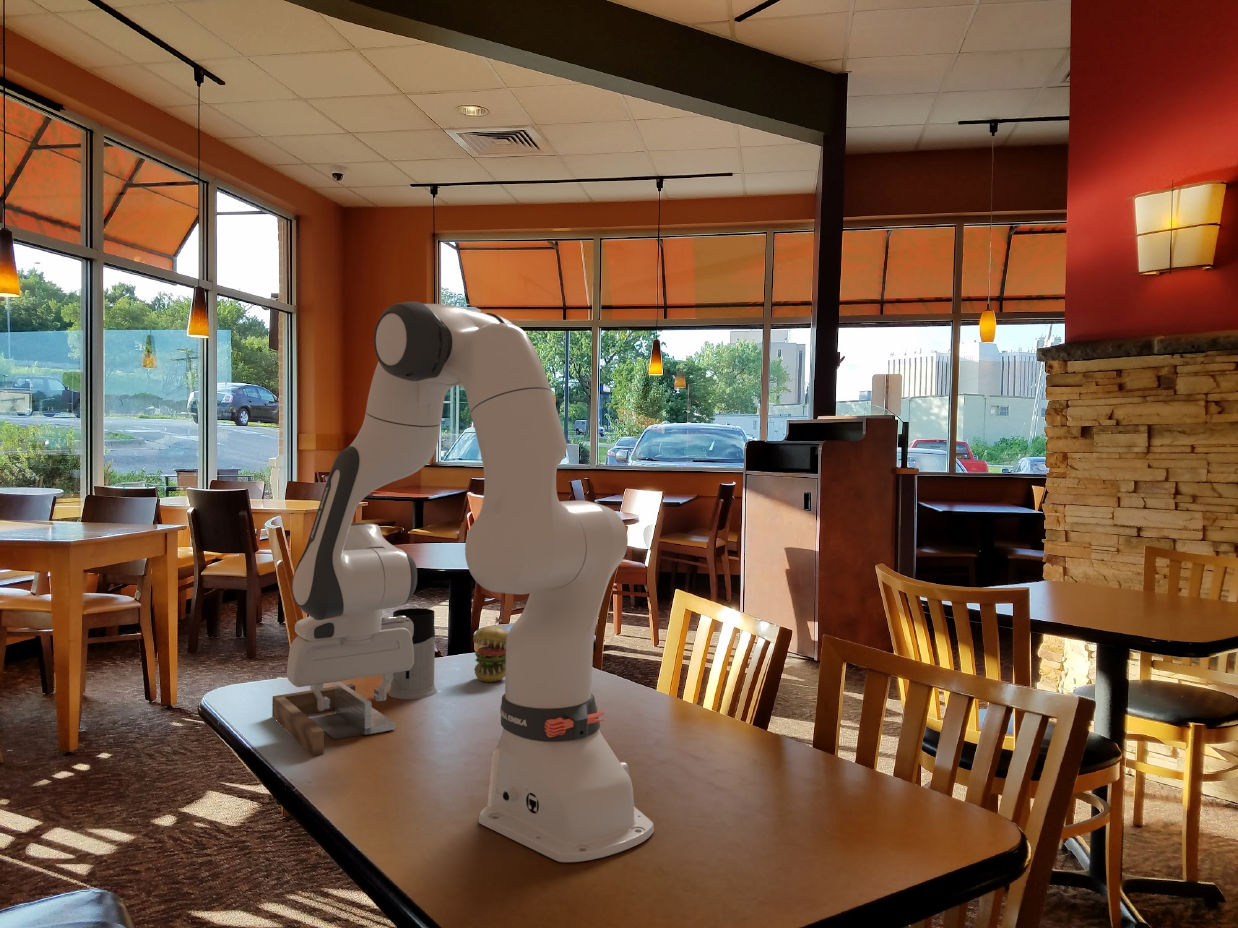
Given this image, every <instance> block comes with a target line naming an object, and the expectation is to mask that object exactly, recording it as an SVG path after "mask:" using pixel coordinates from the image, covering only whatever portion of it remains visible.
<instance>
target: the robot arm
mask: <svg viewBox="0 0 1238 928" xmlns="http://www.w3.org/2000/svg"><path fill="white" fill-rule="evenodd" d="M374 329H375V330H374V332H373V333H374V334H373V347H374V352H375V355H376V357H377V360H378V362H377V365H376V367H375V370H374V372H373V376H372V379H371V384H370V387H369V393H368V396H367V402H366V408H365V413H364V414H365V415H364V419H363V423H362V424H361V425H362V426H360V427H361V428H360V429H359V431H358V433H357V435H356V437H355V438H354V440H353V441H352V442H351V443H350V444H349V446H348V447H346V448H344V449H343V450H341V451H340V452H339V453H337V456H336V457H335V459H334V462H333V464H332V467H331V469H330V472H329V474H328V477H327V480H326V483H325V486H324V490H323V493H322V495H321V498H320V501H319V505H318V509H317V512H316V515H315V517H314V520H313V524H312V528H311V531H310V534H309V537H308V541H307V543H306V545H305V549H304V550H303V552H302V555H301V556H300V559H299V560H298V562H297V564H296V567H295V570H294V573H293V577H292V582H291V583H292V584H291V587H292V588H291V589H292V590H291V591H292V597H293V600H294V603H295V605H296V606H297V607H298V608H299V609H301V611H303V613H304V614H306V615H307V617H305V618H302V619H299V620H298V621H296V622H295V624H294V632H295V634H296V635H297V636H296V637H295V638H294V639H293V641H292V642H291V644H290V648H289V651H288V657H287V659H288V660H287V667H286V669H287V670H286V677H287V680H288V681H289V682H290V684H292V685H293V686H295V687H297V688H302V687H303V688H304V687H309V686H310V687H309V688H310V690H312V692H313V693H314V695H315V696H316V698H317V708H318V710H319V711H321V712H325V711H324V710H327V711H330V710H329V709H330V706H329V704H330V699H329V698H327V697H323V696H322V694H321V692H320V690H323V688H324V684H330V683H337V682H342V681H343V682H344V681H348V680H355V679H356V680H357V679H362V678H367V677H368V678H369V677H375V676H380V678H382V680H381V683H380V684H379V687H378V688H374V690H373V691H374V694H373V695H374V696H373V697H374V698H373V699H374V700H375V701H376V702H383V701H386V700H387V695H388V691H389V690H388V689H390V687H391V683H392V681H393V673H396V672H402V671H409V670H410V669H411V668H412V666H413V665H414V649H413V642H412V637H413V633H414V625H413V622H412V621H411V620H410V619H409V618H406V617H405V616H397V617H393V616H386V617H385V616H384V617H383V610H386V609H392V608H398V607H400V606H404V605H405V604H407V603H408V602H409V601H410V600H411V598H412V596H413V595H414V593H415V591H416V588H417V585H418V568H417V564H416V562H415V560H414V559H413V557H412V556H411V555H410V554H409V553H408V552H407V551H406V550H404V549H403V548H398V547H396V546H395V545H393V544H391V543H390V542H389V541H387V540H386V539H385V538H384V536H383V533H382V530H381V528H380V526H379V524H375V522H374V523H373V522H353V520H354V517H355V513H356V510H357V508H358V506H359V504H361V502H362V501H363V500H364V499H365V498H366V497H367V496H368V495H370V494H371V493H373V492H375V491H376V490H378V489H380V488H381V487H384V486H386V485H388V484H391V483H393V482H397V481H399V480H402V479H404V478H407V477H409V476H413V475H414V474H415V473H417V472H418V471H420V470H421V469H422V468H424V467H425V466H426V465H427V464H428V463H430V461H431V459H433V456H434V455H435V451H436V448H437V446H438V443H439V438H440V431H441V424H442V417H443V411H444V401H445V398H446V396H447V393H448V391H450V389H451V388H453V387H456V386H458V387H459V386H461V387H462V386H463V388H464V389H463V390H464V392H465V395H466V396H465V397H466V399H467V400H466V401H467V404H468V408H469V412H470V416H471V420H472V423H473V426H474V427H473V428H474V432H475V436H476V439H477V444H478V448H479V452H480V456H481V460H482V465H483V476H484V480H483V481H484V482H483V483H484V486H483V488H484V489H483V490H484V491H483V499H482V504H481V509H480V510H479V511H480V512H479V514H478V516H477V517H476V519H474V521H473V523H472V524H471V526H470V527H469V528H470V529H469V530H468V532H467V535H466V539H465V544H464V545H465V546H464V555H465V561H466V566H467V567H468V570H469V572H470V575H471V576H472V578H473V579H474V581H475V582H476V583H477V584H478V585H480V587H482V588H483V589H485V590H487V591H489V592H494V593H502V594H509V595H528V594H529V596H528V598H527V601H526V604H525V606H524V608H523V611H522V612H521V614H520V616H519V618H517V620H516V621H515V622H514V624H513V625H512V626H511V628H510V629H509V631H508V636H507V640H506V672H505V677H504V679H505V680H504V682H505V683H504V690H505V691H504V694H503V695H502V697H501V704H500V709H499V710H500V711H499V714H500V725H501V727H502V728H503V729H502V732H501V736H500V739H499V741H498V742H497V745H496V747H495V748H494V749H493V752H492V759H491V764H490V765H491V768H490V776H489V777H490V778H489V787H488V796H487V797H488V798H487V805H486V806H485V807H484V808H483V809H482V810H481V811H480V813H479V817H478V822H479V824H481V826H484V827H486V828H488V829H491V830H492V831H495V832H496V833H499V834H501V835H503V836H505V837H506V838H508V839H511V840H513V841H514V842H517V843H519V844H521V845H523V846H525V847H527V848H530V849H531V850H534V851H536V852H537V853H539V854H542V855H544V856H546V857H548V858H550V859H552V860H554V861H556V862H559V863H579V862H585V861H593V860H595V859H602V858H605V857H608V856H612V855H616V854H619V853H621V852H623V851H626V850H629V849H631V848H633V847H635V846H637V845H640V844H641V843H643V842H645V841H646V840H647V839H649V838H650V837H651V836H652V835H653V833H654V832H655V828H654V827H655V826H654V822H653V821H652V820H651V819H650V818H649V817H647V816H646V814H644V813H643V812H642V811H640V810H639V809H638V808H637V807H636V806H635V800H634V799H635V798H634V788H633V783H632V779H631V777H630V768H629V765H628V764H627V763H626V762H624V761H620V760H619V758H617V756H616V754H615V753H614V751H613V750H612V748H611V746H610V745H609V743H608V742H607V740H606V739H605V738H604V736H603V734H602V733H601V731H600V728H601V724H600V722H603V721H605V720H604V718H600V716H603V715H604V714H605V713H604V711H599V710H598V706H597V703H596V700H595V696H594V694H593V693H592V688H593V687H592V685H593V683H592V681H593V662H594V661H593V659H594V657H593V656H594V642H595V641H594V640H595V635H596V633H595V632H596V628H597V624H598V618H599V614H600V611H601V607H602V604H603V601H604V599H605V598H604V597H605V594H606V591H607V588H608V585H609V583H610V581H611V578H612V576H613V574H614V573H615V571H616V569H617V568H618V567H619V565H620V564H621V563H622V561H623V559H625V555H626V553H627V549H628V541H629V540H628V533H627V532H628V531H627V529H626V525H625V523H624V521H623V520H622V518H621V516H620V515H619V514H618V513H617V512H616V511H615V510H613V509H612V508H610V507H608V506H605V505H603V504H600V503H596V502H593V501H589V500H581V499H580V500H563V501H560V500H559V497H558V492H557V473H558V472H557V470H558V465H560V463H562V461H563V460H564V458H565V457H566V456H565V455H566V453H567V448H568V447H567V439H566V437H565V433H564V430H563V425H562V423H561V420H560V416H559V413H558V409H557V406H556V402H555V398H554V395H553V392H552V389H551V386H550V383H549V379H548V376H547V374H546V371H545V368H544V365H543V363H542V362H541V359H540V356H539V354H538V352H537V350H536V348H535V347H534V344H533V343H532V340H531V339H530V336H529V335H528V334H527V333H526V332H525V331H524V329H522V328H521V327H520V326H517V325H515V324H514V323H513V322H511V321H510V320H508V319H507V318H504V317H502V316H501V315H497V314H495V313H491V312H480V311H478V310H477V311H476V310H474V309H469V308H464V307H461V306H457V305H452V304H442V303H441V304H440V303H422V302H419V301H404V302H398V303H395V304H394V303H393V304H392V305H390V306H388V307H386V308H385V310H384V311H383V312H382V314H380V316H379V318H378V321H377V323H376V326H375V328H374ZM406 620H408V621H406ZM405 621H406V622H405Z"/></svg>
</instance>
